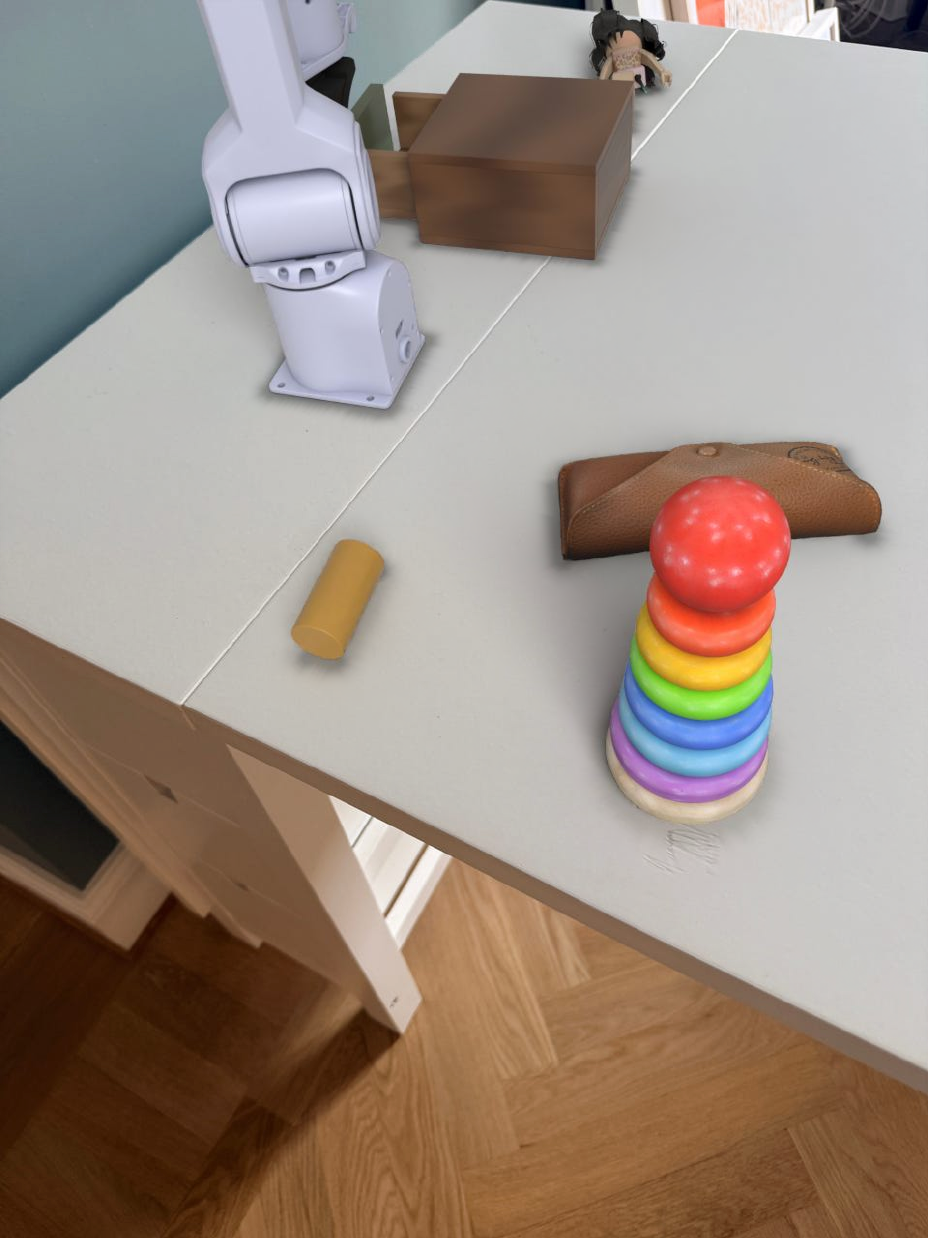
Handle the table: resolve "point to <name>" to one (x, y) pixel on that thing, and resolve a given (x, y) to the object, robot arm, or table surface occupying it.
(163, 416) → the table surface
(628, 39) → the toy figure
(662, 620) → the stacking toy
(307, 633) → the yellow cylinder
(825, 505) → the sunglasses case
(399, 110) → the drawer
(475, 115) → the cabinet
